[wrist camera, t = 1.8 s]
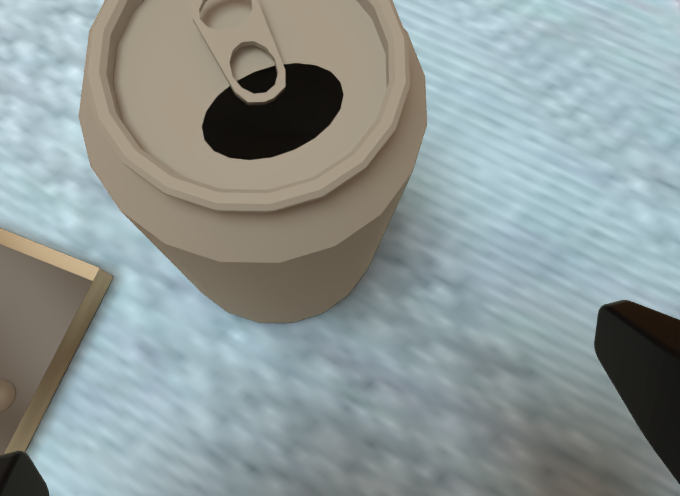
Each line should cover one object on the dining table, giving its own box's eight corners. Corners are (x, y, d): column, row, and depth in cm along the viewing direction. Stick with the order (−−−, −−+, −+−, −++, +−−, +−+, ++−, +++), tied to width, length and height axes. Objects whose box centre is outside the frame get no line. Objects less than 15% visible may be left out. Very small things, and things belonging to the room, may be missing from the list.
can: (230, 362, 21) (137, 316, 10) (150, 188, 23) (-15, -35, 11) (409, 272, 22) (519, 135, 11) (322, 113, 24) (335, -159, 12)
